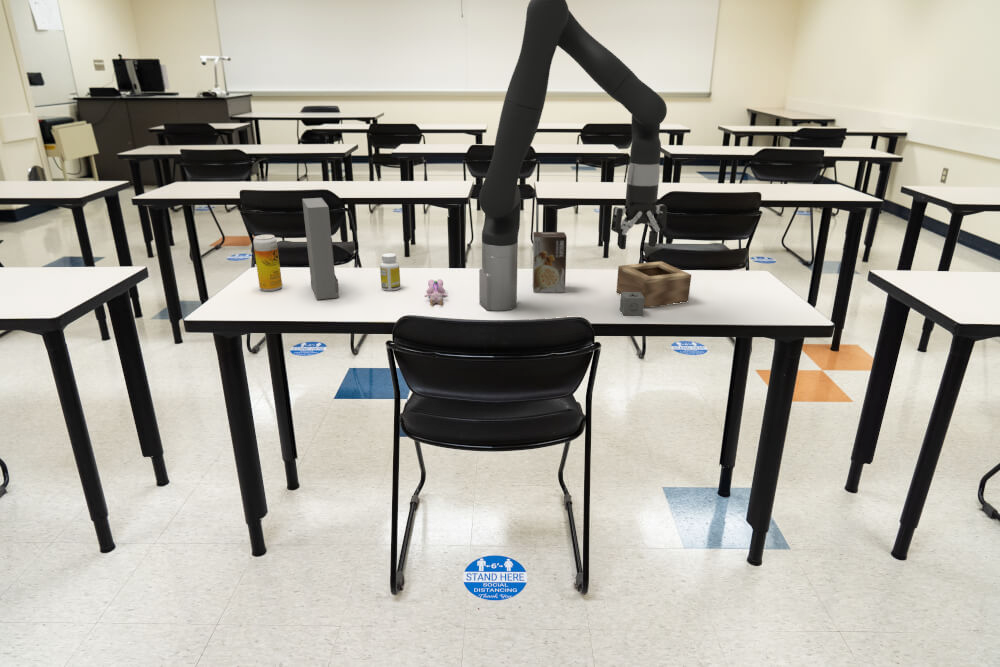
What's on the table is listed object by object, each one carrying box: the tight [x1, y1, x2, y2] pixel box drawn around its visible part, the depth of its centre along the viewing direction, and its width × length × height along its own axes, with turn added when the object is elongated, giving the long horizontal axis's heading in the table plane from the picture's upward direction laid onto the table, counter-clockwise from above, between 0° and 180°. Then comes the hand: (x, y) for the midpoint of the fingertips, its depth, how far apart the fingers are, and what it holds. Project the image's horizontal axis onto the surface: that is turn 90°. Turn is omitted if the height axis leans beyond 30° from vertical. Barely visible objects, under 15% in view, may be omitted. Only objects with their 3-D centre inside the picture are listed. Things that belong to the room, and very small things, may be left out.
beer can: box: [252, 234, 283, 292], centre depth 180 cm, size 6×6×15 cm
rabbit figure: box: [424, 279, 448, 307], centre depth 176 cm, size 6×6×15 cm
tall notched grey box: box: [301, 197, 340, 301], centre depth 176 cm, size 14×6×25 cm, turn 22°
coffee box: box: [532, 231, 568, 294], centre depth 181 cm, size 9×6×16 cm
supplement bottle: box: [379, 252, 401, 292], centre depth 182 cm, size 5×5×10 cm
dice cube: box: [619, 292, 645, 317], centre depth 166 cm, size 5×5×5 cm
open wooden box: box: [616, 260, 692, 308], centre depth 177 cm, size 14×14×8 cm
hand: (637, 247), depth 162 cm, fingers open, 8 cm apart
